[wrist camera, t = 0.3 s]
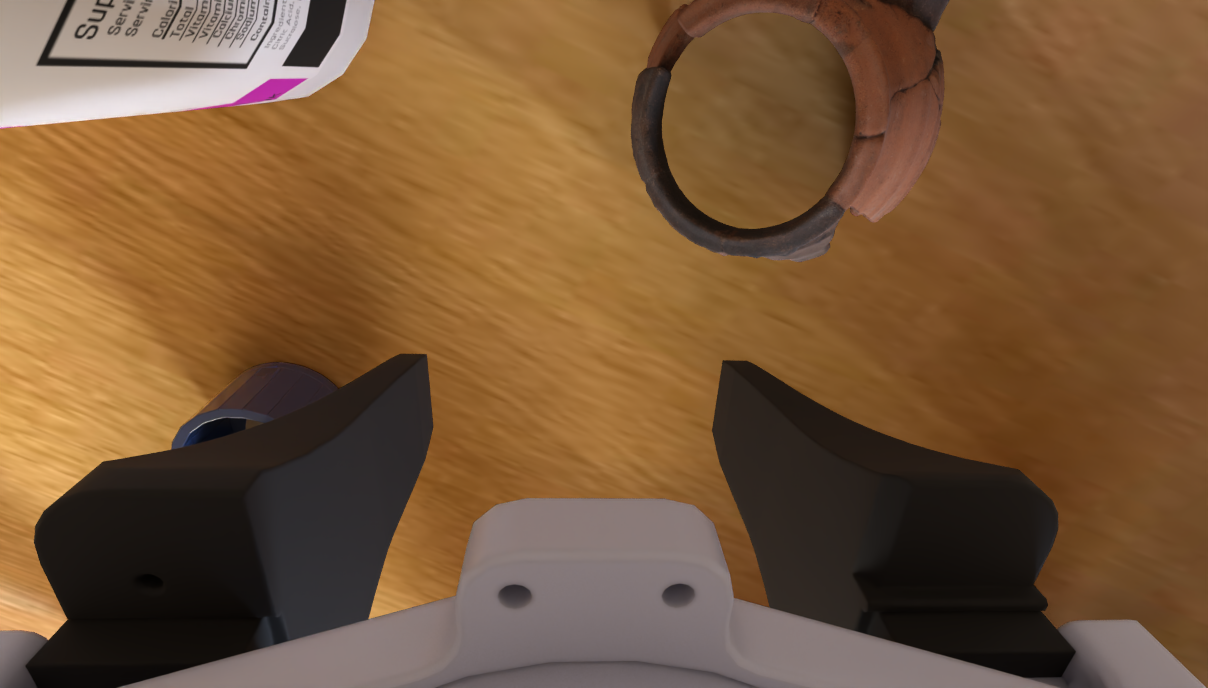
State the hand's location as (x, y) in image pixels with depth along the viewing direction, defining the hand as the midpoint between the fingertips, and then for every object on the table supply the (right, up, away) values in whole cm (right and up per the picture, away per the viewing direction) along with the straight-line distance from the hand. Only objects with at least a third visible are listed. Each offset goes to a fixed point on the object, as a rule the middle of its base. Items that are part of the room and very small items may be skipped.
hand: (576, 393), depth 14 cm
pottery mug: (+7, +11, +7) cm, 15 cm away
